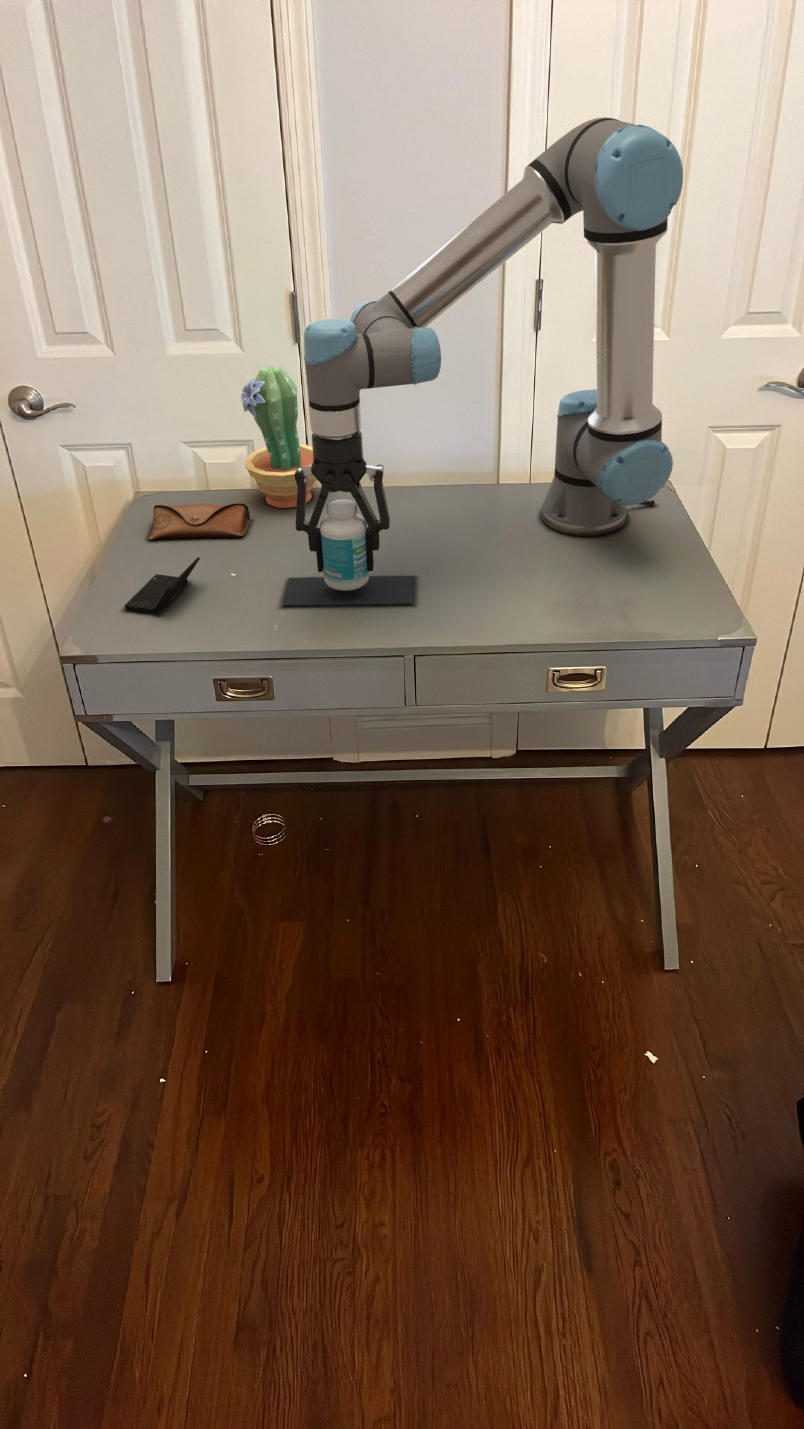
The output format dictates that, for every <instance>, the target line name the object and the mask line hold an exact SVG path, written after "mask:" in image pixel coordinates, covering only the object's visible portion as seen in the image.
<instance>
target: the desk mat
mask: <svg viewBox="0 0 804 1429" xmlns="http://www.w3.org/2000/svg"><path fill="white" fill-rule="evenodd" d="M414 579H415V578H414V575H391V576H390V575H387V576H386V575H385V576H384V575H381V576H380V575H379V576H369V579H368V582H367V583H366V584H365V585H364V586H362V587H360V588H358V589H355V590H349V591H342V590H336V589H333V588H331V587H329V586H328V585H327V584H326V583H325V580H324V576H320V577H319V576H317V577H316V576H315V577H312V576H311V577H309V576H308V577H289V579H288V583H287V586H286V592H285V596H284V600H283V604H282V605H283V608H312V607H315V608H316V607H317V608H318V607H319V608H320V607H322V608H323V607H386V606H387V607H389V606H413V605H414Z"/></svg>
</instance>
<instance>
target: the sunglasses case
mask: <svg viewBox="0 0 804 1429" xmlns="http://www.w3.org/2000/svg"><path fill="white" fill-rule="evenodd" d="M152 515H153V516H152V527H151V531H150V532H151V533H150V535H149V537H148V540H149V541H154V540H164V539H165V540H166V539H169V540H170V539H176V540H177V539H179V540H180V539H225V538H237V537H243V536H245V535H246V533H247V531H248V529H249V526H250V524H251V518H250V517H251V516H250V510H249V507H248V506H247V504H246V503H242V502H235V503H229V504H228V503H227V504H183V505H166V504H164V505H163V504H156V505H154V506H153V514H152Z"/></svg>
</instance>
